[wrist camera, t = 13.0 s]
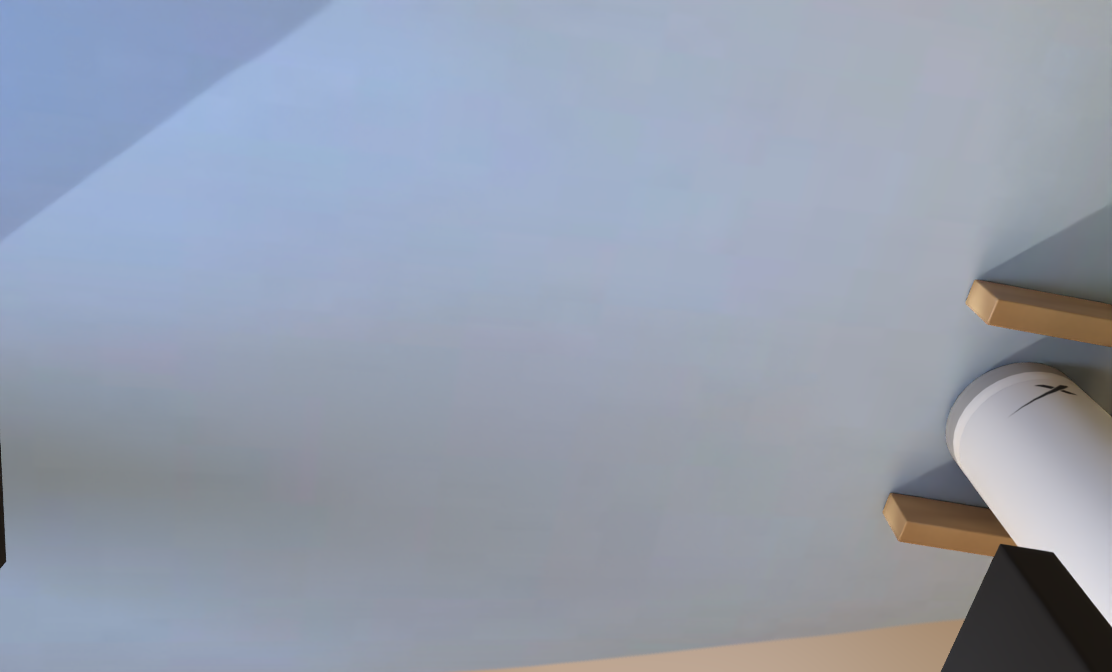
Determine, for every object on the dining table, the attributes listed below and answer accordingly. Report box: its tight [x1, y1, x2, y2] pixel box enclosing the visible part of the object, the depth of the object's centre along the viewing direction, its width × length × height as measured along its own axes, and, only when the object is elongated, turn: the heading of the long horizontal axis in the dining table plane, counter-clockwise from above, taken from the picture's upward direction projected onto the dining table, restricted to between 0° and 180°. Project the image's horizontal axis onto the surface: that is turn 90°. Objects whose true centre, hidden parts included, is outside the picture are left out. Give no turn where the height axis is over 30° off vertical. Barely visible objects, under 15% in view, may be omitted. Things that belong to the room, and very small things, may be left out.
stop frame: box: [883, 280, 1112, 557], centre depth 44 cm, size 12×10×2 cm
